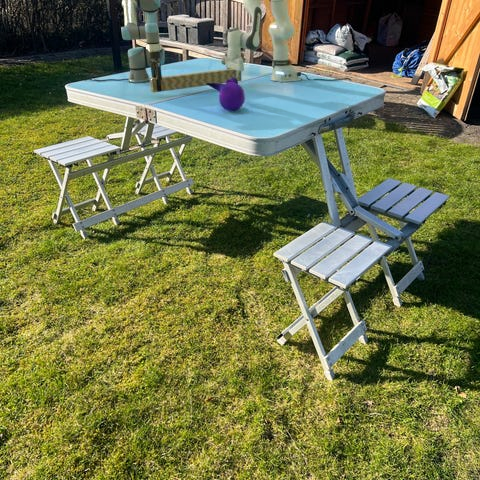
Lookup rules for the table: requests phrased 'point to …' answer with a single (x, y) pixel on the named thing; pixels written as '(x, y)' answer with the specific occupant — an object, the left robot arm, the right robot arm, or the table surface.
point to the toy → (230, 94)
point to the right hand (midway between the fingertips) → (234, 76)
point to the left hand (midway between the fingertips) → (158, 90)
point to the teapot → (224, 59)
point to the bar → (194, 79)
